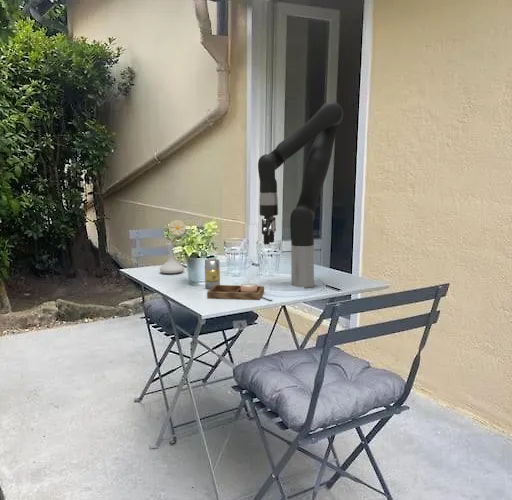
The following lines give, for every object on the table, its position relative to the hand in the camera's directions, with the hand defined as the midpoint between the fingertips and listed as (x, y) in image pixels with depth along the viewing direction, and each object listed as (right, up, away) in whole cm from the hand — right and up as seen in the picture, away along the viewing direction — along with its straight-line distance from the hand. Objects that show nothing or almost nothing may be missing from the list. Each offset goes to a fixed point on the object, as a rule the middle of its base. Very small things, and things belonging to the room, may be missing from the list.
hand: (269, 243), depth 225 cm
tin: (-23, -19, -2) cm, 30 cm away
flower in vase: (-44, -14, +31) cm, 56 cm away
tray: (-13, -21, -15) cm, 29 cm away
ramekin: (-8, -20, -16) cm, 27 cm away
